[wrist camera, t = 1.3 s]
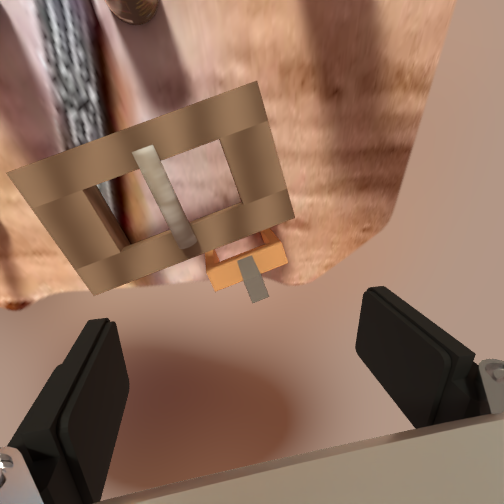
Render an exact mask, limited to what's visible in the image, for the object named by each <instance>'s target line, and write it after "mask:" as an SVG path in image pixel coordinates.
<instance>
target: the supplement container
mask: <svg viewBox="0 0 504 504" xmlns="http://www.w3.org/2000/svg"><path fill="white" fill-rule="evenodd" d="M104 1H105V2H106V4H107V5H108V7H109V8H110V10H111V11H112V12H113V13H114V14H115V15H116V16H117V17H118V18H119V19H120V20H122V21H124V22H126V23H128V24H132V25H141V24H144V23H146V22H148V21H149V20H151V18H152V17H153V16H154V14H155V12H156V10H157V6H158V0H104Z"/></svg>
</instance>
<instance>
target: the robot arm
mask: <svg viewBox="0 0 504 504" xmlns="http://www.w3.org/2000/svg"><path fill="white" fill-rule="evenodd" d="M355 347H356V352H357V354H358V356H359V357H360V358H361V359H362V361H363V362H364V363H365V364H366V366H367V367H368V368H369V369H370V371H371V372H372V373H373V375H374V376H375V377H376V379H377V380H378V381H379V382H380V384H381V385H382V386H383V388H384V389H385V390H386V391H387V393H388V394H389V395H390V397H391V398H392V399H393V400H394V402H395V403H396V404H397V405H398V407H399V408H400V409H401V411H402V412H403V413H404V414H405V416H406V417H407V418H408V420H409V421H410V422H411V423H412V425H413V426H414V427H415V428H416V429H413V430H408V431H404V432H399V433H395V434H390V435H385V436H381V437H376V438H372V439H367V440H362V441H358V442H354V443H349V444H344V445H340V446H335V447H331V448H326V449H322V450H317V451H313V452H308V453H304V454H299V455H295V456H291V457H286V458H281V459H277V460H272V461H268V462H263V463H259V464H255V465H250V466H246V467H242V468H237V469H233V470H229V471H225V472H220V473H215V474H211V475H207V476H202V477H198V478H193V479H189V480H185V481H180V482H176V483H172V484H168V485H164V486H160V487H156V488H152V489H147V490H144V491H140V492H135V493H131V494H127V495H123V496H120V497H115V498H111V499H107V500H104V501H100V499H101V496H102V492H103V488H104V485H105V481H106V477H107V473H108V469H109V466H110V462H111V458H112V454H113V450H114V447H115V442H116V439H117V435H118V431H119V427H120V423H121V420H122V416H123V412H124V409H125V405H126V401H127V397H128V393H129V378H128V374H127V370H126V365H125V361H124V357H123V353H122V348H121V344H120V340H119V335H118V331H117V326H116V323H115V322H110V320H109V319H108V318H102V319H94V320H89V321H88V322H87V324H86V325H85V327H84V328H83V330H82V332H81V333H80V335H79V337H78V338H77V340H76V342H75V344H74V345H73V347H72V348H71V350H70V352H69V353H68V355H67V357H66V359H65V360H64V362H63V363H62V364H60V365H58V366H57V367H56V369H55V370H54V371H53V373H52V374H51V376H50V378H49V379H48V381H47V382H46V384H45V386H44V387H43V389H42V391H41V392H40V394H39V396H38V397H37V399H36V400H35V402H34V403H33V405H32V407H31V408H30V410H29V411H28V413H27V415H26V416H25V418H24V420H23V421H22V423H21V424H20V426H19V428H18V429H17V431H16V433H15V434H14V436H13V437H12V439H11V441H10V442H9V444H8V445H7V447H0V504H504V361H502V360H496V359H486V360H482V361H481V362H480V363H479V365H477V364H476V363H475V362H473V360H474V357H475V355H476V354H475V353H474V352H472V351H471V350H470V349H468V348H467V347H466V346H464V345H463V344H462V343H460V342H459V341H458V340H456V339H455V338H454V337H452V336H451V335H450V334H448V333H447V332H445V331H444V330H443V329H441V328H440V327H438V326H437V325H436V324H435V323H433V322H432V321H430V320H429V319H428V318H427V317H425V316H424V315H422V314H421V313H420V312H418V311H417V310H416V309H414V308H413V307H412V306H410V305H409V304H408V303H406V302H405V301H404V300H402V299H401V298H399V297H398V296H397V295H395V294H394V293H393V292H391V291H390V290H389V289H387V288H386V287H384V286H378V287H370V288H368V289H367V291H366V292H364V294H363V299H362V306H361V313H360V319H359V326H358V332H357V339H356V346H355Z"/></svg>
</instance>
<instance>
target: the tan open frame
mask: <svg viewBox="0 0 504 504" xmlns="http://www.w3.org/2000/svg"><path fill="white" fill-rule="evenodd" d="M217 139H219V140H220V143H221V146H222V148H223V151H224V154H225V157H226V160H227V162H228V165H229V168H230V171H231V173H232V176H233V179H234V182H235V185H236V187H237V190H238V193H239V196H240V199H241V201H242V202H241V203H238V204H236V205H233V206H231V207H228V208H225V209H223V210H220V211H217V212H215V213H212V214H210V215H207V216H204V217H202V218H199V219H197V220H194V221H191V222H188V220H187V218H186V215H185V213H184V211H183V209H182V207H181V205H180V202H179V200H178V198H177V196H176V194H175V192H174V189H173V187H172V185H171V183H170V181H169V178H168V176H167V174H166V172H165V170H164V168H163V165H162V163H161V160H164V159H167V158H169V157H172V156H175V155H177V154H180V153H183V152H185V151H188V150H191V149H193V148H196V147H199V146H201V145H204V144H207V143H209V142H212V141H215V140H217ZM137 169H140V170H141V172H142V174H143V176H144V178H145V180H146V182H147V184H148V186H149V188H150V190H151V192H152V194H153V196H154V198H155V200H156V202H157V204H158V206H159V208H160V210H161V212H162V214H163V216H164V218H165V220H166V222H167V224H168V226H169V228H170V230H168V231H165V232H163V233H160V234H158V235H155V236H152V237H150V238H147V239H144V240H142V241H139V242H137V243H134V244H130V242H129V241H128V239H127V237H126V236H125V234H124V232H123V230H122V229H121V227H120V225H119V224H118V222H117V220H116V218H115V217H114V215H113V213H112V211H111V210H110V208H109V206H108V205H107V203H106V201H105V199H104V198H103V196H102V194H101V193H100V191H99V189H98V187H97V186H96V185H97V184H100V183H102V182H105V181H108V180H110V179H113V178H116V177H118V176H121V175H124V174H126V173H129V172H132V171H134V170H137ZM7 175H8V176H9V178H10V179H11V181H12V182H13V183H14V185H15V186H16V188H17V189H18V190H19V192H20V193H21V195H22V196H23V197H24V199H25V200H26V202H27V203H28V204H29V206H30V207H31V209H32V210H33V211H34V213H35V214H36V216H37V217H38V218H39V220H40V221H41V223H42V224H43V225H44V227H45V228H46V230H47V231H48V232H49V234H50V235H51V237H52V238H53V240H54V241H55V242H56V244H57V245H58V247H59V248H60V249H61V251H62V252H63V254H64V255H65V256H66V258H67V259H68V261H69V262H70V263H71V265H72V266H73V268H74V269H75V270H76V272H77V273H78V275H79V276H80V277H81V279H82V280H83V282H84V283H85V284H86V286H87V287H88V289H89V290H90V291H91V293H92V294H93V296H95V295H98V294H101V293H103V292H106V291H108V290H111V289H113V288H116V287H119V286H121V285H124V284H126V283H129V282H131V281H134V280H137V279H139V278H142V277H144V276H147V275H149V274H152V273H155V272H157V271H160V270H162V269H165V268H167V267H170V266H173V265H175V264H178V263H180V262H183V261H185V260H188V259H191V258H193V257H196V256H198V255H201V254H203V253H206V252H209V251H211V250H214V249H216V248H219V247H221V246H224V245H227V244H229V243H232V242H234V241H237V240H239V239H242V238H245V237H247V236H250V235H252V234H255V233H257V232H260V231H263V230H265V229H268V228H270V227H273V226H275V225H278V224H281V223H283V222H286V221H288V220H291V219H293V218H295V216H294V212H293V208H292V205H291V201H290V198H289V194H288V190H287V187H286V183H285V180H284V176H283V172H282V169H281V165H280V162H279V158H278V155H277V151H276V147H275V144H274V140H273V137H272V133H271V129H270V126H269V122H268V119H267V115H266V111H265V108H264V104H263V101H262V97H261V93H260V90H259V86H258V83H257V81H255V82H252V83H249V84H246V85H244V86H241V87H238V88H236V89H233V90H230V91H227V92H225V93H222V94H219V95H216V96H214V97H211V98H208V99H206V100H203V101H200V102H197V103H195V104H192V105H189V106H187V107H184V108H181V109H178V110H176V111H173V112H170V113H167V114H165V115H162V116H159V117H157V118H154V119H151V120H148V121H146V122H143V123H140V124H138V125H135V126H132V127H129V128H127V129H124V130H121V131H119V132H116V133H113V134H110V135H108V136H105V137H102V138H99V139H97V140H94V141H91V142H89V143H86V144H83V145H80V146H78V147H75V148H72V149H70V150H67V151H64V152H61V153H59V154H56V155H53V156H50V157H48V158H45V159H42V160H40V161H37V162H34V163H31V164H29V165H26V166H23V167H21V168H18V169H15V170H12V171H10V172H7Z"/></svg>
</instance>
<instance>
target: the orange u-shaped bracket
mask: <svg viewBox="0 0 504 504" xmlns="http://www.w3.org/2000/svg"><path fill="white" fill-rule="evenodd" d="M260 233H261V235H262V238H263V241H264V243H265V244H264V245H262V246H259V247H257V248H254V249H251V250H249V251H246V252H244V253H241V254H239V255H236V256H234V257H231V258H228V259H226V260H223V261H221V262H219V259H218V256H217V254H216V252H215V249H214V250H211V251H209V252H206V253H205V261H206V273H207V275H208V277H209V279H210V282H211V283H212V285H213V288H214V290H215V291H218V290H221V289H223V288H226V287H229V286H231V285H233V284H236V283H239V282H241V281H244V283H245V286H246V288H247V291H248V293H249V296H250V298H251V301H252V303H255V302H257V301H260V300H262V299H265V298H267V297H269V295H268V292H267V289H266V287H265V284H264V282H263V279H262V276H261V273H264V272H267V271H269V270H272V269H274V268H277V267H279V266H282V265H284V264H287V263H288V261H287V258H286V254H285V251H284V248H283V245H282V243H281V241H280V240H279V239H278V238H277V236H276V235H275V234H274V233H273V231H272V230H271V229H270V228H268V229H265V230H263V231H260Z"/></svg>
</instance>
